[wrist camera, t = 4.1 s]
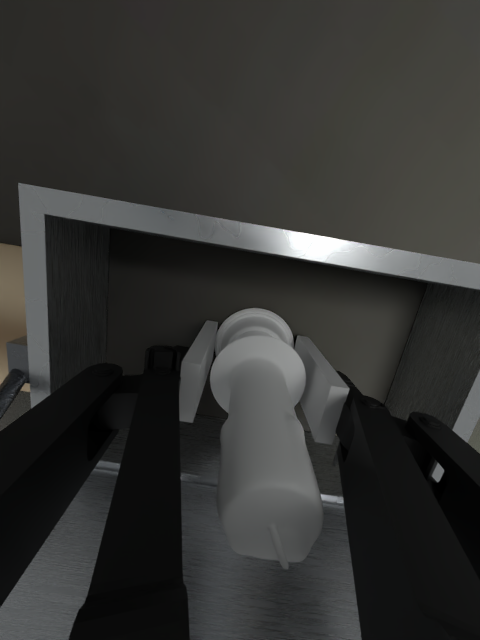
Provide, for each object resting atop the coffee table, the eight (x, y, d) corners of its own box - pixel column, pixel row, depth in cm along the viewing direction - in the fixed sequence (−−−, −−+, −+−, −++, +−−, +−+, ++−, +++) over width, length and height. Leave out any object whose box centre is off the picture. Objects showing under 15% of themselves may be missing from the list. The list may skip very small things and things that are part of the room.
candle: (308, 355, 17) (454, 584, 5) (243, 394, 17) (241, 667, 6) (265, 291, 16) (326, 392, 4) (199, 336, 16) (89, 527, 5)
